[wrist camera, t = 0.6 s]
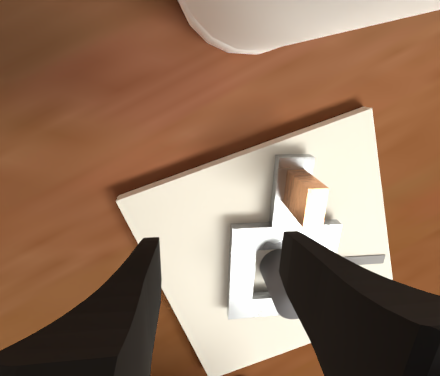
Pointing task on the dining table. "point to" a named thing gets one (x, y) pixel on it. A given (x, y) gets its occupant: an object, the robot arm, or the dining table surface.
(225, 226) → the base board
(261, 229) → the grey metal bracket
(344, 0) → the bottle
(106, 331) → the robot arm
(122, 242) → the dining table surface
